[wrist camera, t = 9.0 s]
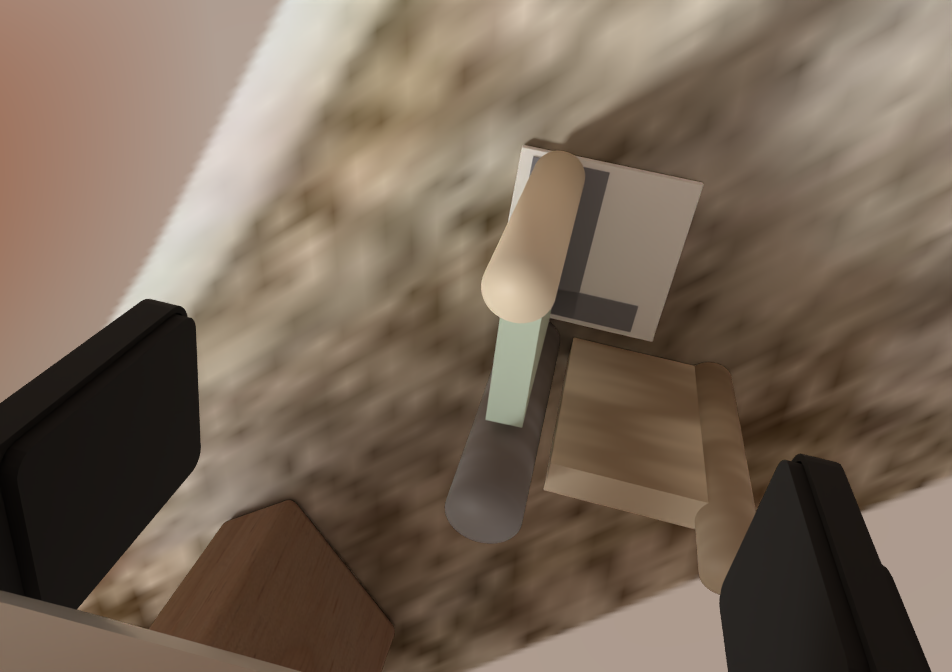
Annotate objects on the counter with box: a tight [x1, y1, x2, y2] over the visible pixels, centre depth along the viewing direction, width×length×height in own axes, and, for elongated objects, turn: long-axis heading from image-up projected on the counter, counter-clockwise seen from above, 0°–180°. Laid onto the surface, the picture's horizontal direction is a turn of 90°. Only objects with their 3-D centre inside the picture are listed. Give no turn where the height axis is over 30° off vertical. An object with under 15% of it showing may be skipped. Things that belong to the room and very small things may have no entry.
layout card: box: [508, 145, 703, 342], centre depth 24 cm, size 6×6×1 cm
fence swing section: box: [481, 151, 585, 428], centre depth 20 cm, size 6×2×8 cm, turn 174°
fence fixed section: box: [445, 322, 756, 595], centre depth 22 cm, size 8×2×9 cm, turn 81°
